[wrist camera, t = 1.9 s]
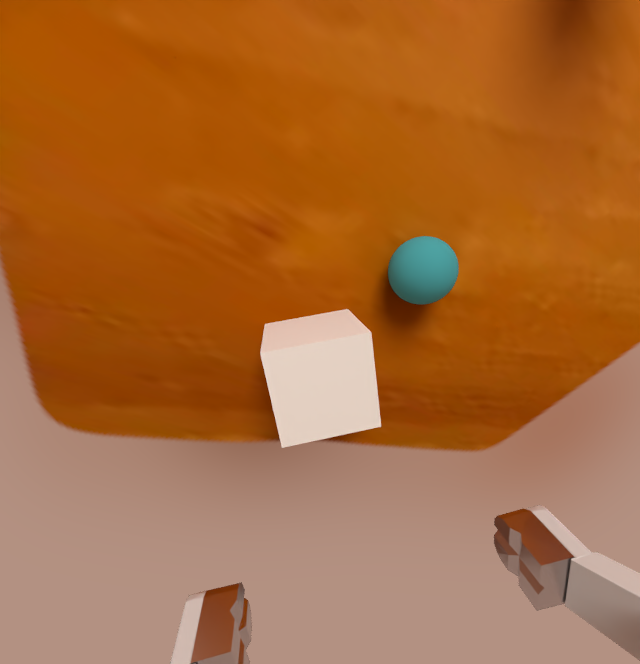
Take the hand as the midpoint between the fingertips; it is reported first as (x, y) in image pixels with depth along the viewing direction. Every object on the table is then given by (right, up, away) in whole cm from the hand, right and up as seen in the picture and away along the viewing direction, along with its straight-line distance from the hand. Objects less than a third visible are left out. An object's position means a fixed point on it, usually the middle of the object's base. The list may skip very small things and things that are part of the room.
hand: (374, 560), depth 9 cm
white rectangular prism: (-2, +5, +17) cm, 18 cm away
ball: (+6, +12, +13) cm, 19 cm away
